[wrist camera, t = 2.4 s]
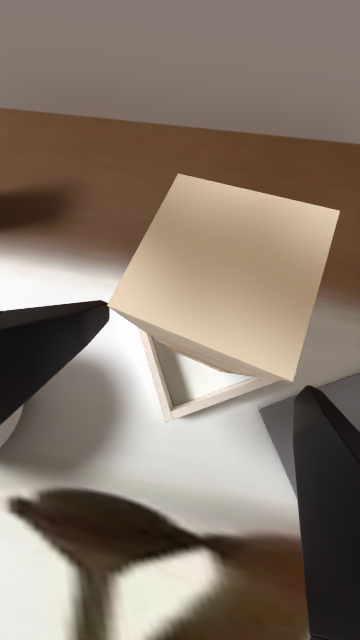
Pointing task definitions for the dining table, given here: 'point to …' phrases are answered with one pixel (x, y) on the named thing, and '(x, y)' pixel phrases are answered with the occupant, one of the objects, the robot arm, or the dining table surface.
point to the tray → (198, 403)
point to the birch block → (228, 276)
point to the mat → (346, 394)
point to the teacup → (9, 425)
